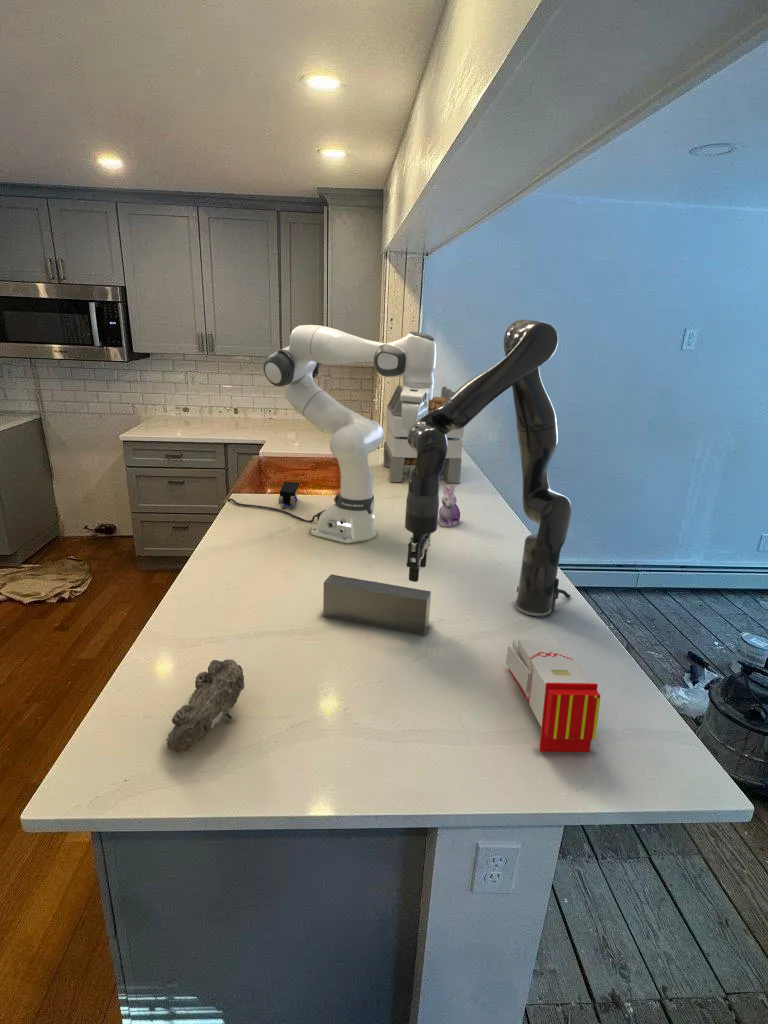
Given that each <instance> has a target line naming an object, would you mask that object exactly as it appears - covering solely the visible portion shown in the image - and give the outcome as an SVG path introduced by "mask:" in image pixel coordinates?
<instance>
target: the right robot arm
mask: <svg viewBox="0 0 768 1024" xmlns="http://www.w3.org/2000/svg"><path fill="white" fill-rule="evenodd" d="M558 344H559V334H558V331H557V329H556V328H555V327H554V326H553V325H552V324H550V323H548V322H545V321H541V320H532V319H517V320H514V321H513V322H512V323H510V324H509V326H508V327H507V329H506V330H505V333H504V337H503V351H504V358H503V359H501V360H500V361H499V362H498V363H496V364H495V365H493V366H492V367H490V368H488V369H486V370H485V371H483V372H482V373H480V374H478V375H476V376H474V377H473V378H471V379H469V380H468V381H466V382H465V383H463V385H461V386H459V388H458V389H457V390H455V391H454V392H455V393H454V394H453V395H452V396H451V397H450V398H448V399H447V400H446V401H445V402H444V403H443V404H442V405H441V406H440V407H438V408H436V409H435V410H433V411H431V412H430V413H429V414H427V415H425V416H424V417H423V418H421V419H420V420H419V421H417V422H416V423H415V424H414V425H413V426H412V428H411V429H410V431H409V433H408V444H409V446H410V447H411V448H412V449H413V450H414V451H416V452H417V460H416V465H415V466H411V468H410V470H409V475H408V487H407V488H408V490H407V496H406V503H405V518H404V529H405V530H406V531H408V532H410V533H412V536H410V538H409V541H408V544H407V545H408V547H407V559H406V560H407V561H406V568H409V569H408V581H410V582H412V583H413V582H414V583H417V582H418V581H419V578H420V568H425V567H426V566H427V556H428V552H429V548H430V546H431V534H433V533H435V532H436V531H437V529H438V523H439V522H438V518H439V510H440V482H441V475H442V474H441V471H442V468H443V465H444V462H445V458H446V454H447V448H448V443H447V437H446V434H447V433H449V432H450V431H452V430H460V429H462V428H463V427H464V428H465V427H466V426H468V424H469V423H470V422H471V421H473V420H474V419H475V418H476V417H477V416H478V415H479V414H480V413H481V412H482V411H483V410H484V409H486V407H487V406H489V404H491V403H492V402H493V401H494V400H495V399H497V398H498V397H500V395H501V394H503V393H504V392H506V391H507V390H508V389H509V388H511V387H512V395H513V406H514V413H515V421H516V431H517V440H518V446H519V453H520V454H519V455H520V464H521V473H522V474H521V475H522V508H523V512H524V513H523V514H525V517H527V518H528V519H529V520H530V521H532V522H534V523H535V524H536V525H538V527H539V528H538V531H537V533H534V534H529V535H527V536H526V538H525V539H524V543H523V544H524V545H523V552H522V560H521V566H520V572H519V574H520V575H519V581H518V586H517V588H516V593H517V595H516V600H515V608H516V610H518V611H519V612H521V613H522V614H524V615H527V616H531V617H546V616H549V615H550V614H551V613H552V612H555V608H556V603H557V600H558V599H559V594H563V595H564V597H565V598H566V599H570V598H571V594H570V593H568V592H567V591H566V590H564V589H561V588H559V581H560V579H559V578H558V577H557V576H558V569H559V564H560V558H561V557H560V556H561V552H562V548H563V546H564V544H565V542H566V540H567V535H568V531H569V526H570V522H571V517H572V502H571V501H570V498H568V497H567V496H565V495H563V494H561V493H559V492H556V491H554V490H552V489H551V486H550V483H549V482H550V481H549V473H548V468H549V464H550V462H551V460H552V458H553V456H554V454H555V452H556V450H557V448H558V447H557V446H558V442H559V433H558V422H557V415H556V411H555V409H554V406H553V404H552V401H551V399H550V397H549V395H548V393H547V391H546V389H545V386H544V384H543V381H542V378H541V371H540V367H541V366H542V365H544V364H545V363H546V362H547V361H549V360H550V359H551V358H552V357H553V355H554V354H555V353H556V351H557V348H558ZM413 559H415V561H413Z"/></svg>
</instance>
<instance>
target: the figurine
mask: <svg viewBox="0 0 768 1024" xmlns="http://www.w3.org/2000/svg"><path fill="white" fill-rule="evenodd" d="M455 488H456V484H455V483H451V486H450V487H448V486H447V484H443V485H442V489H443V495H442V497H441V503H442V506H441V507H439V510H438V522H437V523H438V524H439V525H440V526H441V527H446V528H449V527H455V526H457V525H458V524H459V523H460V518H461V511H460V508H459V506H458V504H456V503H457V501H458V500H457V497H456V495H455Z"/></svg>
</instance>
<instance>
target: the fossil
mask: <svg viewBox="0 0 768 1024" xmlns="http://www.w3.org/2000/svg"><path fill="white" fill-rule="evenodd" d="M243 670H244V669H243V667H242V665H240V664H237V662H236V661H235V660H234V659H232V658H231V659H227V658H226V659H224V660H223V661H222V660H217V659H212V660H211V661H210V663H209V665H208V666H207V671H201V672H199V673H198V674H197V675H196V676H195V680H194V684H195V685H194V687H195V689H194V690H193V693H192V694H191V697H190V698H189V700H188V704H184V705H182V706H181V707H180V709H177V710H176V711H175V713H174V715H173V716H172V718H171V723H172V724H173V727H172V730H171V731H170V732H168V734H167V738H166V741H167V742H166V745H167V749H168V750H169V751H173V752H174V753H176V754H178V753H182V752H188V751H189V752H192V751H193V750H195V748H196V747H197V746H199V744H200V743H201V742H203V741H204V740H205V739H206V738H207V737H208V736H209V735H210V734H211V733H212V732H214V730H215V729H217V727H218V726H219V724H220V722H221V721H222V720H223V719H224V718H225V716H226V717H227V719H229V720H233V717H232V715H230V714H229V710H230V709H231V708H234V706H235V704H236V703H237V702H238V699H239V697H240V695H241V693H242V691H243V690H245V689H244V688H245V675H244V671H243Z"/></svg>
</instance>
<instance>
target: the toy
mask: <svg viewBox="0 0 768 1024" xmlns="http://www.w3.org/2000/svg"><path fill="white" fill-rule="evenodd" d="M505 659H506V660H505V665H506V666H507V667H508V671H509V673H510V674H511V676H512V678H513V679H514V681H515V682H516V685H517V686H518V688H519V690H520V691H521V692H522V694H523V697H525V699H526V701H527V703H529V707H530V709H531V711H532V712H533V714H534V716H535V718H536V720H537V722H538V724H539V726H540V728H541V729H540V739H539V748H538V751H539V752H540V753H543V752H544V753H590V752H591V744H592V743H591V742H592V740H596V736H597V727H598V720H599V719H598V718H599V710H600V704H601V703H600V702H601V696H602V695H601V694H600V693H599V692H598V687H599V686H598V683H595V682H594V683H592V682H591V681H590V679H589V678H588V677H587V676H586V674H585V673H584V671H583V670H582V669H581V668H580V666H579V665H578V664H577V663H576V662H575V661H576V660H574V659H573V658H572V656H571V655H570V653H568V651H567V650H566V648H565V647H564V645H563V644H562V643H561V642H560V641H559V639H529V638H528V639H524V638H521V639H517V640H512V645H511V644H510V645H509V644H508V646H507V653H506V658H505Z"/></svg>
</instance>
